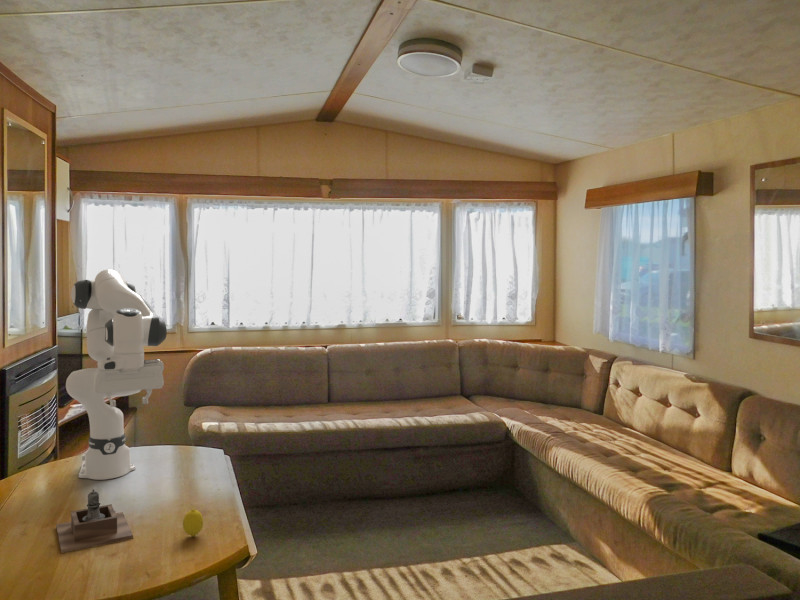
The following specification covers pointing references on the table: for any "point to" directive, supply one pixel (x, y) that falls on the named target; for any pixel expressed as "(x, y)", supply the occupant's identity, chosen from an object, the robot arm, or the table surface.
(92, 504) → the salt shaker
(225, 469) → the table surface
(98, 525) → the caddy
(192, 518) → the lemon
